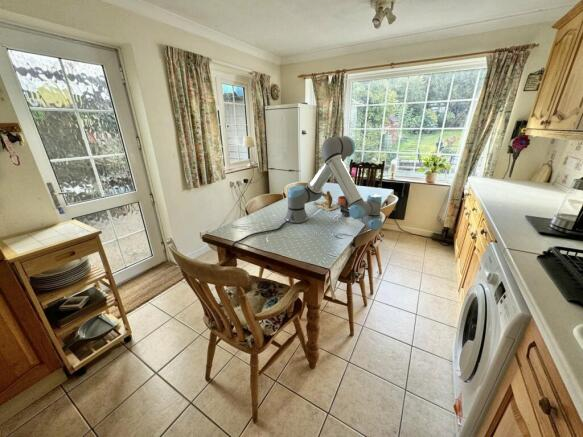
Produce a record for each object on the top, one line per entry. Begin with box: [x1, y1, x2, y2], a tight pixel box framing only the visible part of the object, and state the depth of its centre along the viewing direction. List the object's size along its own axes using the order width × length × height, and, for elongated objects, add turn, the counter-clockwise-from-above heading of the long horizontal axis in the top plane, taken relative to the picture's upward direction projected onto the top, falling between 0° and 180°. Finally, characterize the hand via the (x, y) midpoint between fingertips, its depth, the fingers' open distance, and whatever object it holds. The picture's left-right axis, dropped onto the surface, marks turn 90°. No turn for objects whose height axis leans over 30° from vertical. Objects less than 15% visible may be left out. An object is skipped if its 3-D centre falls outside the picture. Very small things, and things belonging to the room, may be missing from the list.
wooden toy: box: [313, 190, 339, 212], centre depth 190 cm, size 22×10×14 cm, turn 37°
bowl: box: [337, 195, 350, 207], centre depth 196 cm, size 13×13×6 cm
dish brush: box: [341, 197, 351, 218], centre depth 169 cm, size 6×4×16 cm
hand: (350, 205), depth 163 cm, fingers open, 13 cm apart
